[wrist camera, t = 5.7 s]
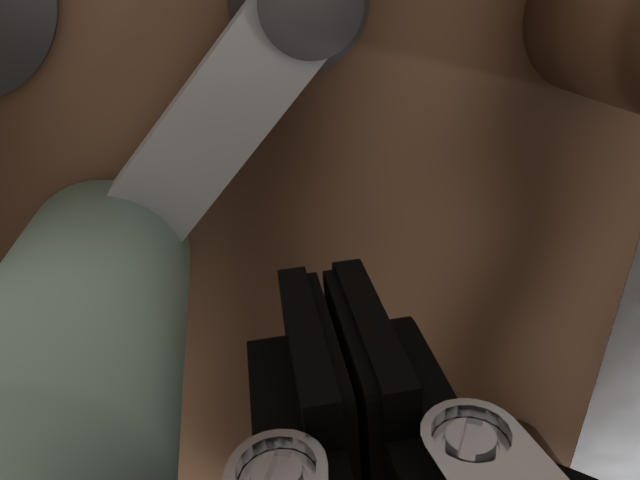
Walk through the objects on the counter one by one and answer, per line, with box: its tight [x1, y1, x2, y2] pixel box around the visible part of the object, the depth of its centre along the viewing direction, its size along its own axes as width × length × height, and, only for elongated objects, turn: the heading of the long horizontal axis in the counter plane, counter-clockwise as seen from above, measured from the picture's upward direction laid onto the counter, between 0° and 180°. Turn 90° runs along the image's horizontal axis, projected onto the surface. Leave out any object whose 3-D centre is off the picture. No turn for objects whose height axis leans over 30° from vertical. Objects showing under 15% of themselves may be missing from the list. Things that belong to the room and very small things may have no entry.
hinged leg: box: [0, 0, 364, 480], centre depth 9 cm, size 10×4×7 cm, turn 139°
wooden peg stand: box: [0, 0, 640, 480], centre depth 13 cm, size 20×20×10 cm
